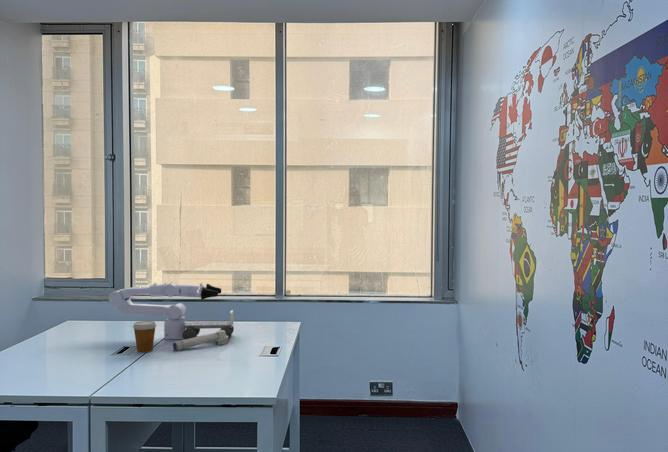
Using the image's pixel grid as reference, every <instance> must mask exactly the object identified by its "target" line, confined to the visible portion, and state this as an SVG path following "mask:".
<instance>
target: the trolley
mask: <svg viewBox="0 0 668 452" xmlns="http://www.w3.org/2000/svg"><path fill="white" fill-rule="evenodd" d="M183 329H185V331H184V332H183V339H182V340H185V339H190V338H194V337H198V335H199V333H200V332H201V329H204V330H205V329H219V330H225V333H226V335H227V336H228V341H229V340H230V339H231V338H232V334H233V333H234V330H235V327H234V310H230V311H229V321H190V322H189V321H188V322H187V321H185V324H184V325H183Z"/></svg>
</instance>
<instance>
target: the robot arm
mask: <svg viewBox="0 0 668 452" xmlns="http://www.w3.org/2000/svg"><path fill="white" fill-rule="evenodd" d="M221 293H222V288H220V287H218V286H217V287H216V286H214V285H212V284H210V283H206V285H205V286H204V285H203V282H200V283H199V284H186V283H185V284H184V283H183V284H179V283H178V284H177V283H175V282H170V283H167V282H164V283H159V284H158V283H157V282H153V284H151V285H150V286H148V287H126V288H120V289H118V290H114V291H112V292H110V293H109V294H108V298H107V299H108V302H109V304H110V305H111V306H112V307H114V308H116V309H118V310H119V311H121V312H122V313H124V314H127V315H147V316H163V317H165V318H166V319H165V320H164V325H163V328H164V329H163V330H164V331H163V335H164V337H163V340H184V339H183V332H184V331H185V330H186V329H183V325H184V324H185V323H186V316H185V314H186V313H187V307H186V305H185V304H184V303H182V302H181V303H180V302H178V303H175V304H152V303H151V304H150V303H149V304H148V303H133V301H132V300H131V297H133V296H142V295H149V296H150V297H165V296H167V297H169V298H171V297H174V296H175V297H177V296H178V297H186V298H188V297H189V298H198V299H200V300H201V301H202V300H205V299H208V298H216V297H218V296H219V294H221Z"/></svg>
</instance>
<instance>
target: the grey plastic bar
mask: <svg viewBox="0 0 668 452" xmlns="http://www.w3.org/2000/svg"><path fill="white" fill-rule="evenodd" d="M213 341H215V342H214V343H215V345H218V346H219V345H222V346H223V345H226V344H227V343H228V342H229V340H228V336H227V335H226V333H225V330H220V329H219V330H217V331H216V332H213V333H207V334H204V335H199V336H196V337H194V338H190V339H185V340H184V339H179V340H178V341H175V342H173V343H172V349H173V351H175V352H179V351H184V350H185V349H189V348H192V347H197V346H200V345H202V344H205V343H209V342H213Z"/></svg>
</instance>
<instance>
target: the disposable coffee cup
mask: <svg viewBox="0 0 668 452" xmlns="http://www.w3.org/2000/svg"><path fill="white" fill-rule="evenodd" d="M156 327H157V324H156V321H154V320H140V321H136V322H134V323H133V325H132V328H133V330H134V338H135V339H134V340H135V344H136V352H137V353H149V352H152V351H153V349H154V341H155V333H156Z"/></svg>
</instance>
